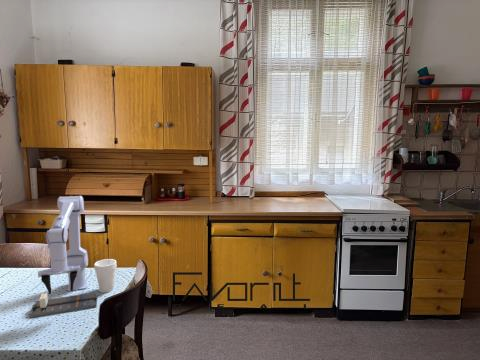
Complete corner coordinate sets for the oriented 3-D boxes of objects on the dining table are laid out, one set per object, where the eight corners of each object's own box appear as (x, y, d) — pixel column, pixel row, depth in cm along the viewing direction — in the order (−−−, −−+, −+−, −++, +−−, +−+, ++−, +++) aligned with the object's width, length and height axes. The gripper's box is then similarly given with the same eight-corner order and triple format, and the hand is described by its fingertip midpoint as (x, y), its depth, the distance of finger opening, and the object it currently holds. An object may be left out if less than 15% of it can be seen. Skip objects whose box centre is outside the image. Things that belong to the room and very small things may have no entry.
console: (36, 303, 143) (35, 299, 143) (97, 294, 152) (97, 290, 152) (30, 318, 132) (29, 313, 132) (96, 307, 141) (96, 302, 140)
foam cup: (94, 295, 151) (92, 267, 150) (97, 286, 160) (95, 260, 158) (116, 292, 154) (115, 265, 152) (118, 284, 163) (117, 258, 161)
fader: (42, 302, 141) (41, 293, 140) (47, 301, 142) (47, 292, 141) (40, 308, 136) (39, 299, 136) (45, 307, 137) (45, 298, 136)
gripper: (35, 264, 125) (38, 299, 127) (78, 259, 130) (80, 292, 132) (38, 258, 132) (41, 291, 133) (79, 253, 137) (81, 285, 139)
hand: (61, 291), depth 133 cm, fingers open, 7 cm apart
